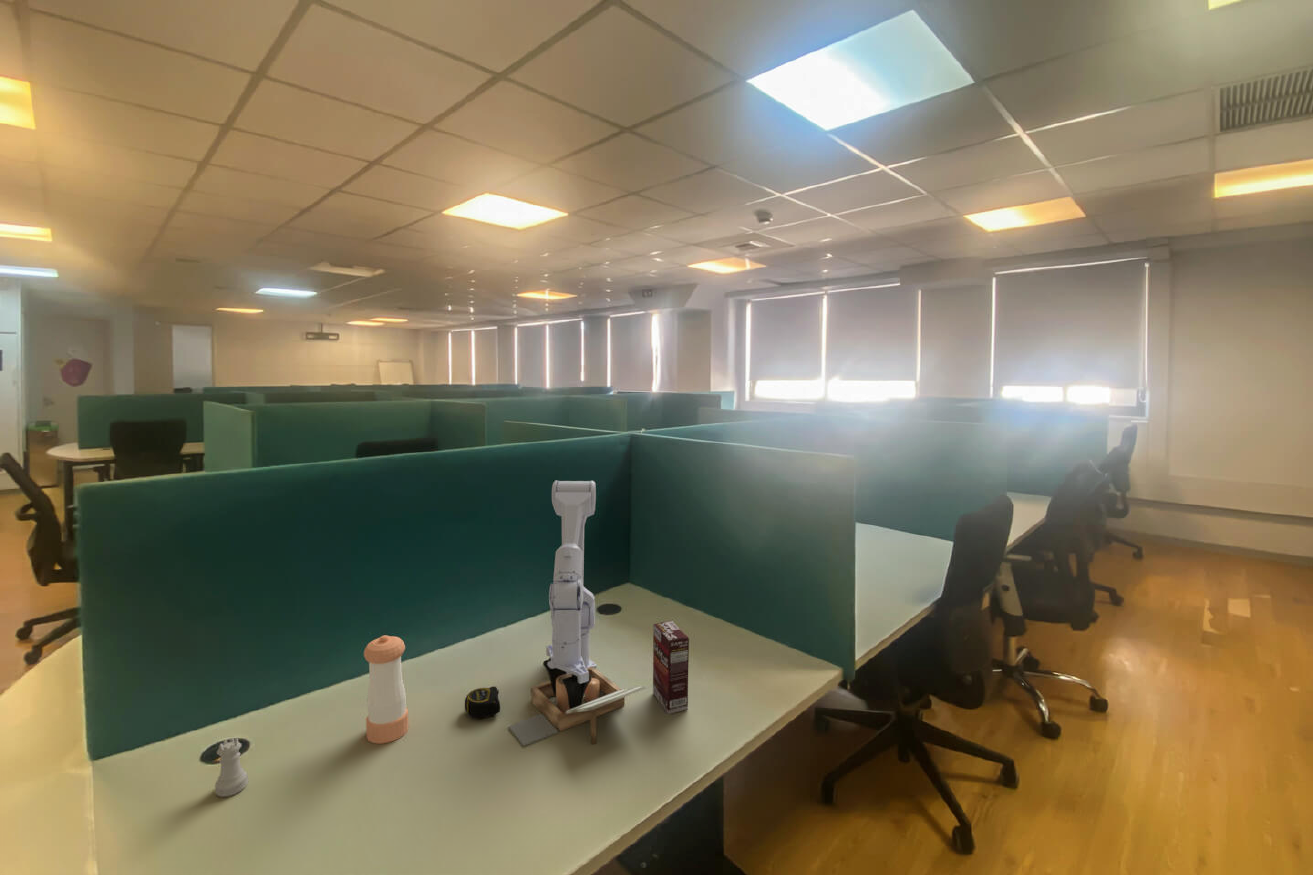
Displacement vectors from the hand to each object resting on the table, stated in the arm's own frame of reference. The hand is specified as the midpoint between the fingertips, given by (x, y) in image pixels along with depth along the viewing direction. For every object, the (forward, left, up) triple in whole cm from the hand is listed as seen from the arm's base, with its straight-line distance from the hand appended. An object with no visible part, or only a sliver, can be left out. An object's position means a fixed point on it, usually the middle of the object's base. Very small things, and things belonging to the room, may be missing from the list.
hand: (566, 700), depth 118 cm
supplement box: (+11, +19, -2) cm, 22 cm away
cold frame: (+5, +2, -1) cm, 5 cm away
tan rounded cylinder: (0, +6, -2) cm, 6 cm away
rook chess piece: (-12, -55, -2) cm, 57 cm away
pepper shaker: (-13, -31, -2) cm, 34 cm away
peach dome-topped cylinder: (0, 0, -2) cm, 2 cm away
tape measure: (-9, -14, -2) cm, 17 cm away
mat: (+3, -9, -1) cm, 10 cm away
